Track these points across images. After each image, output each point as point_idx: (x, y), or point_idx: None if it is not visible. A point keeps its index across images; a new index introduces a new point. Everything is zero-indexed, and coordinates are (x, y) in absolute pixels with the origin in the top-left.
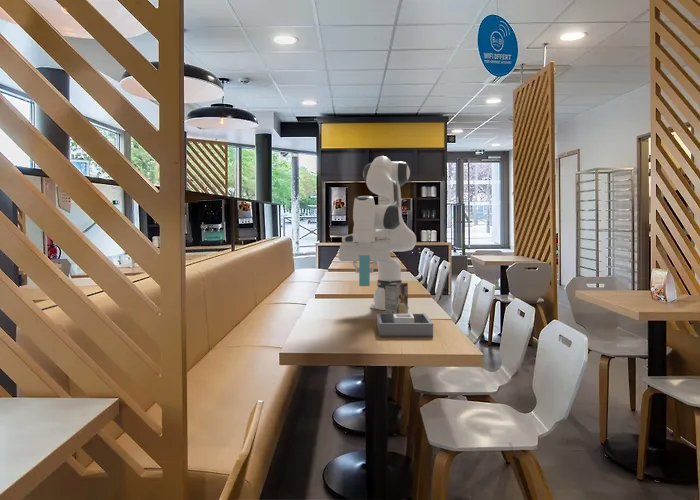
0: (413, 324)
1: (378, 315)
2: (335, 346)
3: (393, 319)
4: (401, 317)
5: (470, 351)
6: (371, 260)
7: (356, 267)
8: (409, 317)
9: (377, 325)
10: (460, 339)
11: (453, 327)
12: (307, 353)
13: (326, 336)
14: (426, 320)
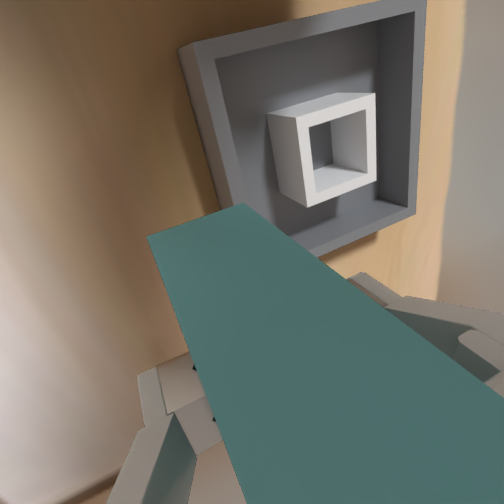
0: (360, 236)
1: (216, 108)
2: (138, 409)
3: (288, 144)
4: (332, 192)
5: (428, 296)
6: None
7: (187, 477)
8: (360, 181)
9: (202, 131)
10: (437, 202)
11: (463, 25)
12: (95, 487)
13: (36, 334)
14: (405, 135)
